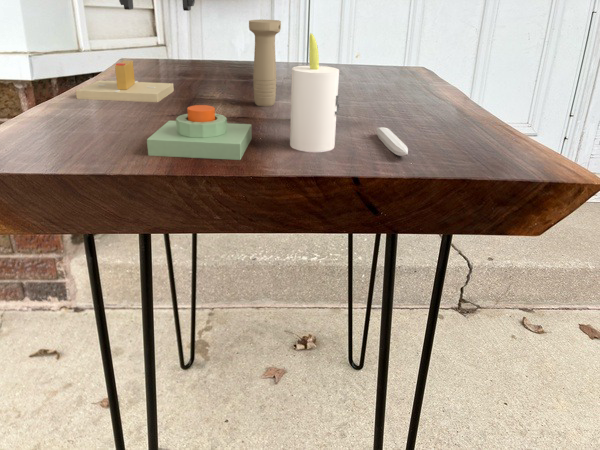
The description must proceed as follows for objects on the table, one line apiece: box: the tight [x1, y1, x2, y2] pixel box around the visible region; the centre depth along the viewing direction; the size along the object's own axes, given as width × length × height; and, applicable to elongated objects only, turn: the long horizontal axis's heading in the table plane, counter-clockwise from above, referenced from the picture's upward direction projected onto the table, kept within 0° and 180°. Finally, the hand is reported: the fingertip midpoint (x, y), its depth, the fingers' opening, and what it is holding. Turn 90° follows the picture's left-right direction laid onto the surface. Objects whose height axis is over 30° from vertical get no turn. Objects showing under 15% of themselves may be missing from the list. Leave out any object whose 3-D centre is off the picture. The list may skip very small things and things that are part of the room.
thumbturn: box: [114, 60, 136, 90], centre depth 93 cm, size 6×2×4 cm, turn 3°
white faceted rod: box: [376, 126, 409, 157], centre depth 74 cm, size 2×14×2 cm, turn 7°
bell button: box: [186, 104, 216, 122], centre depth 70 cm, size 4×4×2 cm
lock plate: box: [75, 79, 175, 103], centre depth 94 cm, size 14×10×3 cm
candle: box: [289, 32, 341, 153], centre depth 71 cm, size 6×6×15 cm
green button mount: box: [146, 113, 253, 161], centre depth 71 cm, size 12×10×4 cm
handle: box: [248, 19, 282, 107], centre depth 88 cm, size 5×6×15 cm
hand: (157, 9), depth 77 cm, fingers open, 8 cm apart
